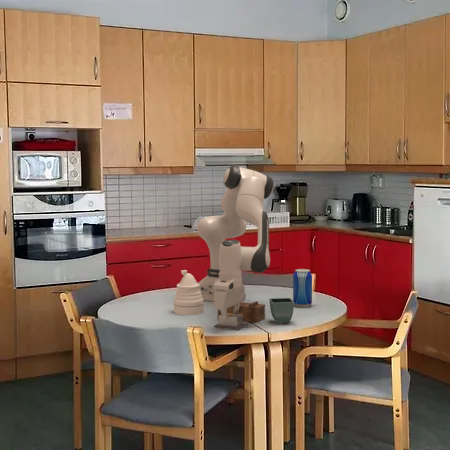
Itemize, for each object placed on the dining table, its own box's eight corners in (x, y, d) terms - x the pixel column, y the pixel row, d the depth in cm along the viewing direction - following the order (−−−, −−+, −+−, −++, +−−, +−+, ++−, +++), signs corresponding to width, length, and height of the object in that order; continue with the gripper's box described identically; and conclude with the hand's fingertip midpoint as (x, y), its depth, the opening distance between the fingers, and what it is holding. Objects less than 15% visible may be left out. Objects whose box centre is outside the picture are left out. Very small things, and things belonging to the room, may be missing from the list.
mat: (213, 327, 267) (213, 325, 267) (222, 322, 274) (222, 321, 274) (238, 330, 262) (238, 328, 262) (247, 325, 270) (247, 324, 269)
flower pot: (268, 319, 279) (269, 298, 279) (290, 319, 280) (290, 297, 279) (272, 325, 271) (272, 302, 270) (294, 324, 271) (294, 302, 271)
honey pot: (181, 316, 287) (180, 273, 285) (169, 310, 298) (168, 269, 296) (208, 313, 292) (208, 271, 291) (195, 307, 304) (195, 267, 302)
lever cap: (218, 325, 268) (218, 313, 268) (224, 322, 272) (224, 311, 272) (237, 327, 264) (237, 315, 264) (242, 324, 269) (242, 313, 268)
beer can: (311, 308, 301) (311, 272, 299) (292, 307, 302) (292, 271, 301) (312, 304, 309) (312, 269, 307) (294, 303, 311) (294, 268, 309)
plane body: (217, 318, 283) (217, 299, 282) (225, 314, 289) (225, 295, 288) (257, 322, 275) (257, 302, 274) (264, 318, 281) (264, 299, 280)
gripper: (234, 277, 277) (234, 310, 279) (211, 285, 259) (211, 321, 261) (249, 278, 275) (249, 312, 276) (226, 286, 256) (226, 323, 258)
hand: (230, 316), depth 268 cm, fingers open, 8 cm apart
